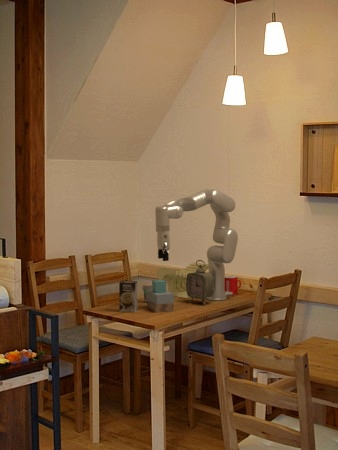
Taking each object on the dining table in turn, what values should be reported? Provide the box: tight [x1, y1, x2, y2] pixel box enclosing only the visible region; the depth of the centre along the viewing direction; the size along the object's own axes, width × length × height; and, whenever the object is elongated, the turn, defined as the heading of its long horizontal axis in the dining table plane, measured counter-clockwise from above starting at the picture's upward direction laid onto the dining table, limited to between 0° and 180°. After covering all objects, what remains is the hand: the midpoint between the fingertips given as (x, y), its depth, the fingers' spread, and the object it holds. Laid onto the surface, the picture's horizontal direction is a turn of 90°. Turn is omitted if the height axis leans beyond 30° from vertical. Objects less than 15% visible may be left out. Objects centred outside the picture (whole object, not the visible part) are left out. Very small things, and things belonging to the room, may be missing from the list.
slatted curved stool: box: [156, 262, 209, 299], centre depth 404 cm, size 30×16×18 cm, turn 136°
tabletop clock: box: [185, 259, 214, 306], centre depth 378 cm, size 14×9×25 cm, turn 45°
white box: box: [146, 290, 175, 304], centre depth 363 cm, size 10×16×5 cm, turn 23°
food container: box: [141, 284, 152, 304], centre depth 381 cm, size 12×6×10 cm, turn 112°
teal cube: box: [151, 279, 167, 293], centre depth 362 cm, size 6×6×6 cm
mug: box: [225, 275, 242, 296], centre depth 405 cm, size 12×8×11 cm
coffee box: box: [118, 280, 138, 313], centre depth 358 cm, size 9×6×16 cm
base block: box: [146, 300, 174, 314], centre depth 363 cm, size 10×16×5 cm, turn 18°
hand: (163, 259), depth 364 cm, fingers open, 9 cm apart
